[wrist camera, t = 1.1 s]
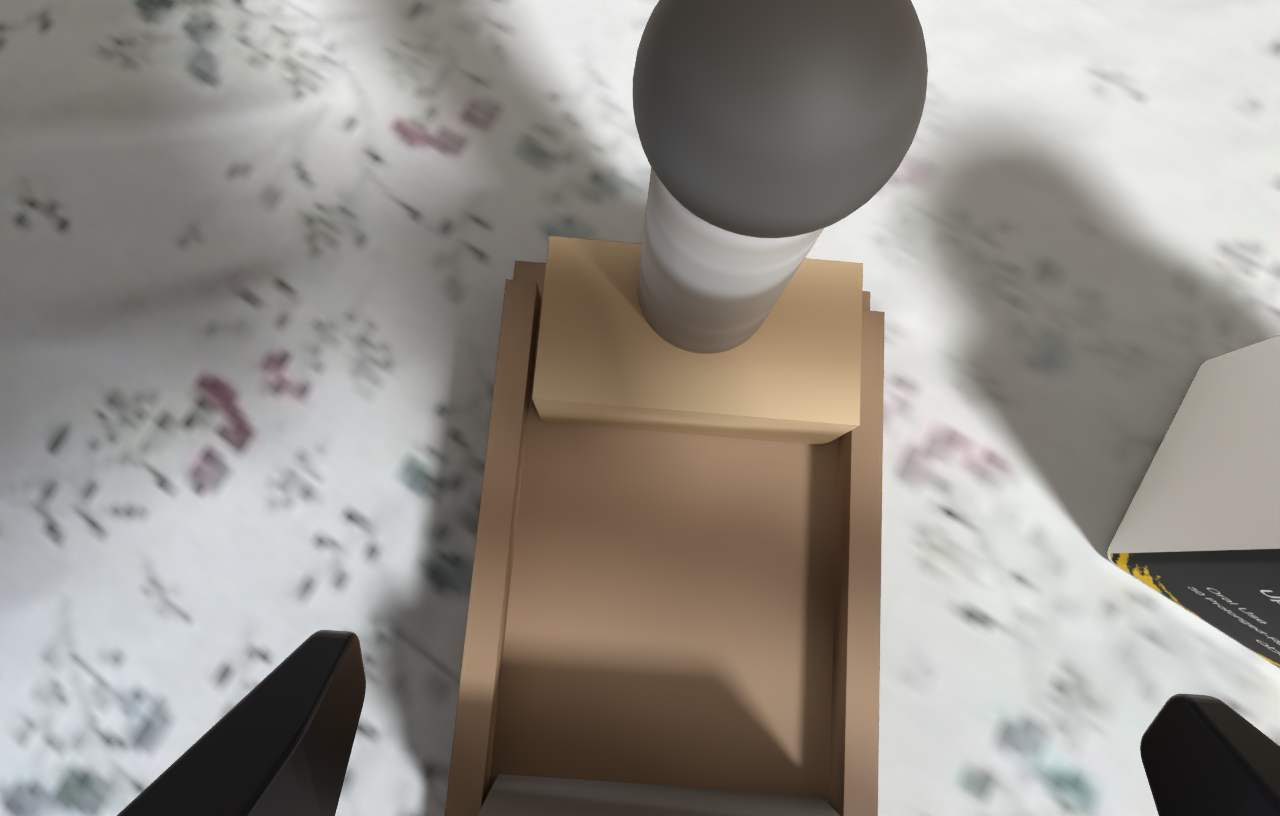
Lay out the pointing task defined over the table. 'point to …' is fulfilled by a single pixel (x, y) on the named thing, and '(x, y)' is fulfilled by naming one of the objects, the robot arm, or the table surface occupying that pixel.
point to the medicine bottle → (1216, 502)
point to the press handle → (737, 224)
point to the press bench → (669, 612)
